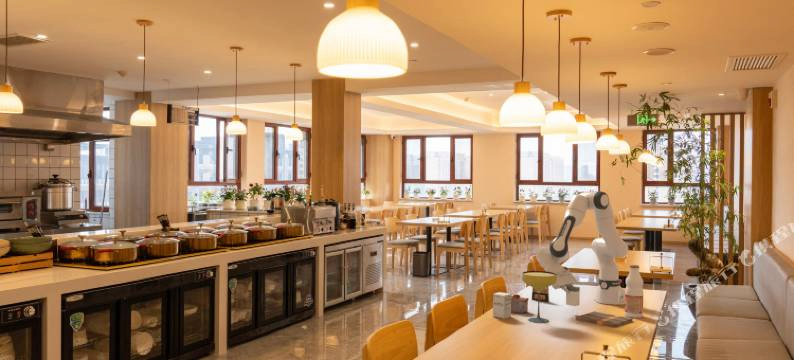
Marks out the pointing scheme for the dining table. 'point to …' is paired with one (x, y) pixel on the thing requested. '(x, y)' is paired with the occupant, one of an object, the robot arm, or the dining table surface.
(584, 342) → the dining table surface
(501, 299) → the supplement box
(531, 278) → the cocktail glass
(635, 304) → the fruit juice
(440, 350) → the dining table surface
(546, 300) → the thin brown box
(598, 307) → the dining table surface
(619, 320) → the board
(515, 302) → the food item
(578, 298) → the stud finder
